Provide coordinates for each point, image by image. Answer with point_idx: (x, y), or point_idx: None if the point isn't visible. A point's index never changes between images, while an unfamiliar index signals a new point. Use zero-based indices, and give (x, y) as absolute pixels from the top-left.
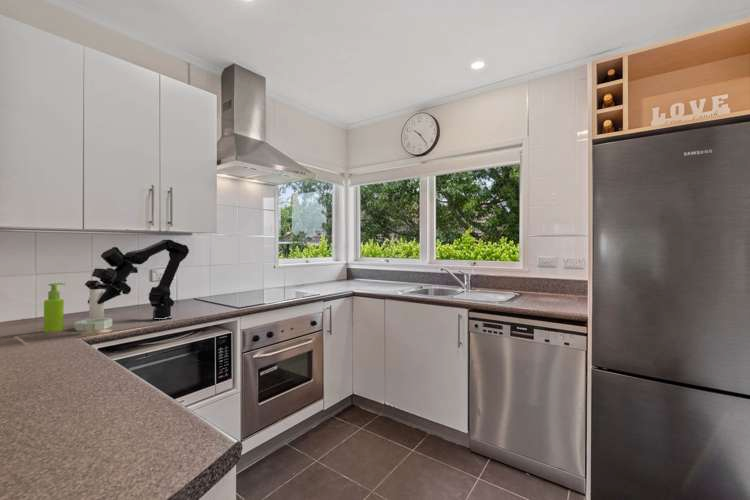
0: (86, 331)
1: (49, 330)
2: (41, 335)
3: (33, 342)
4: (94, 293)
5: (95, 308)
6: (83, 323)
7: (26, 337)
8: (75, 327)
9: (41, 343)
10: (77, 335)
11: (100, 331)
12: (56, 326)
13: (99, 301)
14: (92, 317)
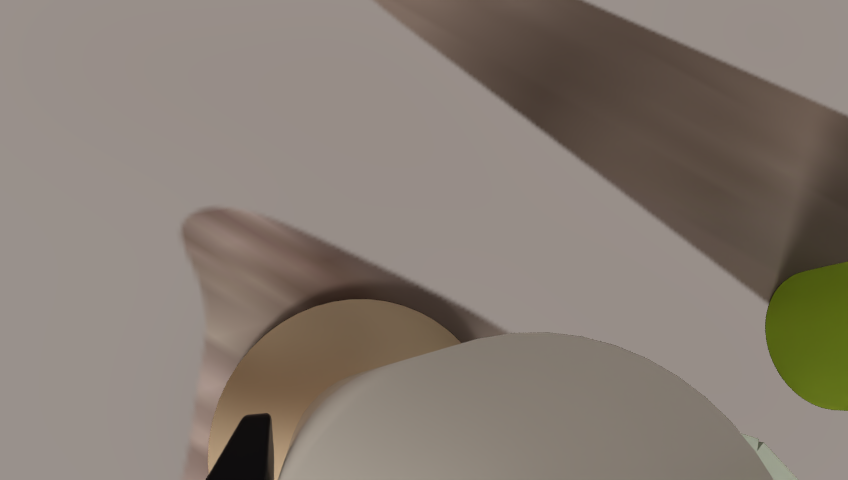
0: None
1: (803, 277)
2: (752, 212)
3: (515, 29)
4: (348, 394)
5: (316, 403)
6: None
7: (771, 132)
8: None
9: (412, 18)
10: (449, 305)
11: None
12: (812, 315)
13: (222, 455)
14: (348, 376)
